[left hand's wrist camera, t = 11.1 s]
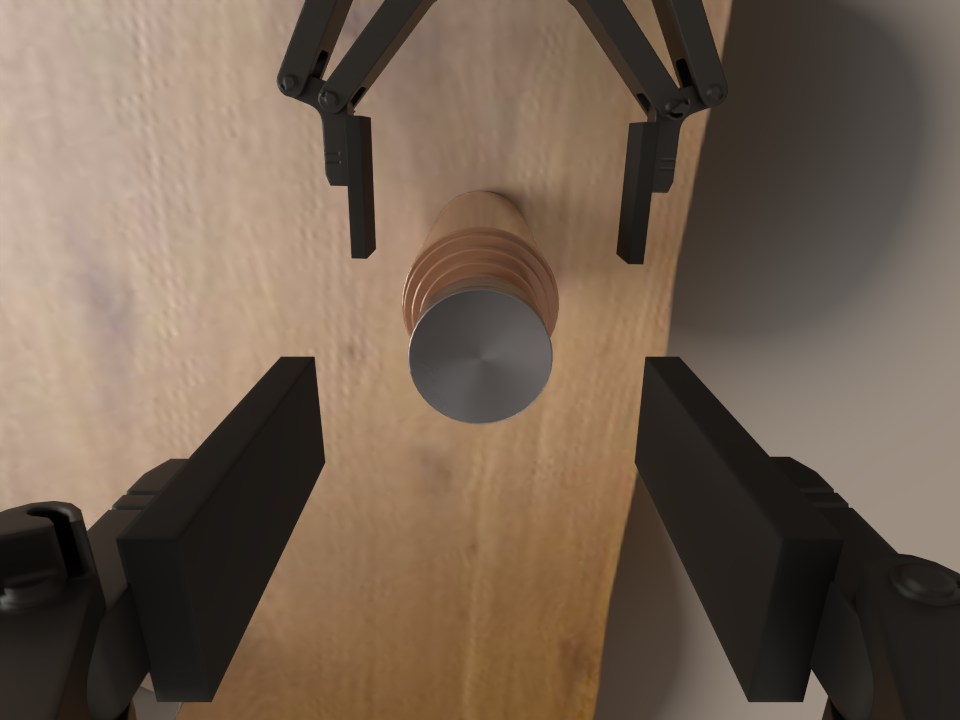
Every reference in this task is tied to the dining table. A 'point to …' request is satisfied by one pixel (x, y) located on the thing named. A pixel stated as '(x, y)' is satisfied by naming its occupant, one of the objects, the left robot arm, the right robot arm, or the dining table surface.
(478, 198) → the bottle
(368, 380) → the dining table surface
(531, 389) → the cap
